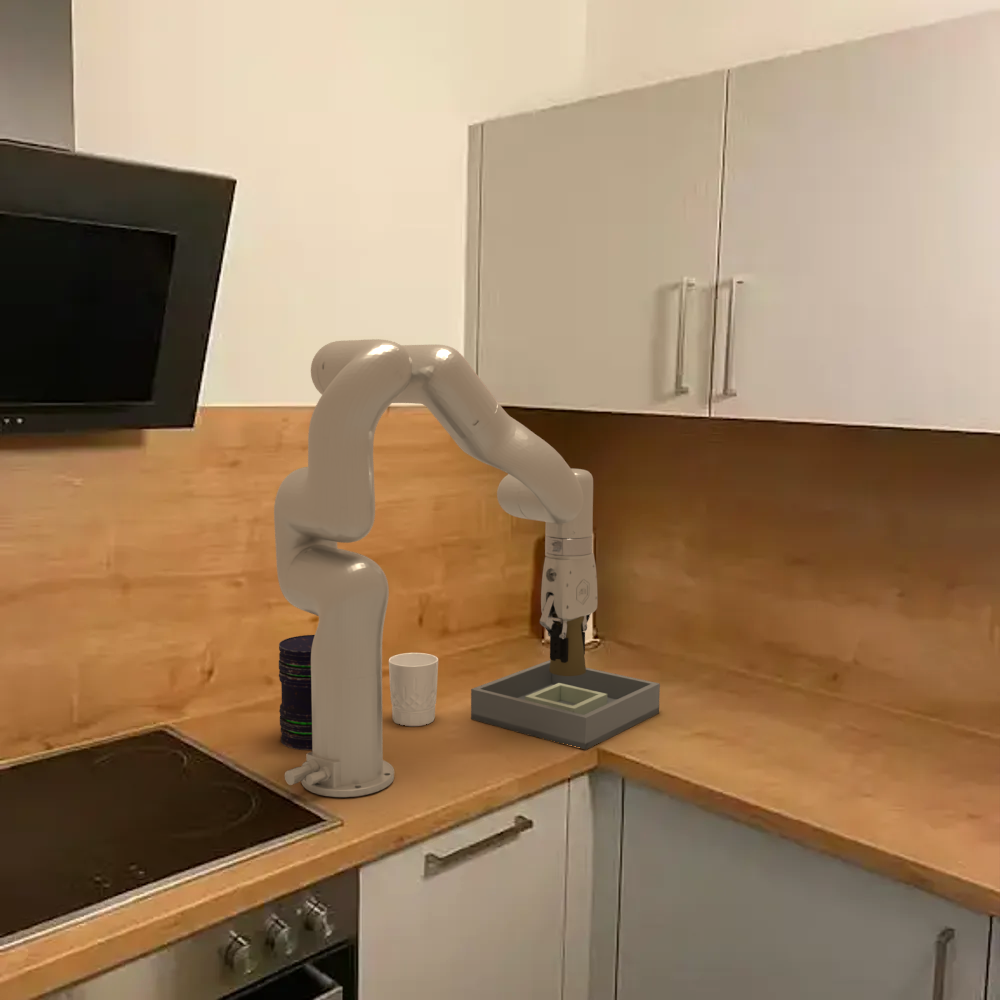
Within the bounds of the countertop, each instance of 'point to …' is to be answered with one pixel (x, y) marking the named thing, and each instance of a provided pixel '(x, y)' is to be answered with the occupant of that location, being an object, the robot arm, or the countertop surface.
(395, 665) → the white cup
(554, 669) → the brown pepper mill
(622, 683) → the open box
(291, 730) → the storage jar
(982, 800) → the countertop surface
